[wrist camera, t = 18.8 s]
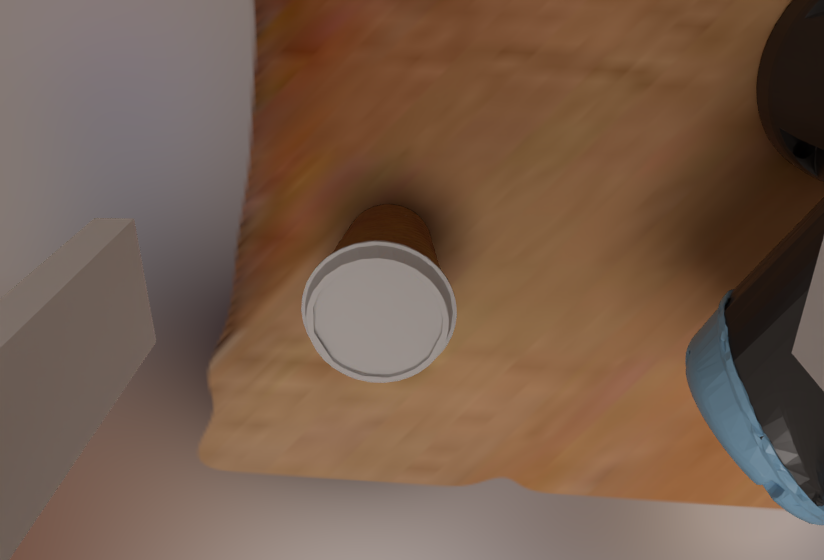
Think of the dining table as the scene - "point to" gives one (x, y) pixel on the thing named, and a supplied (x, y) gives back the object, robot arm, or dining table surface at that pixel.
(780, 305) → the robot arm
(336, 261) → the disposable coffee cup
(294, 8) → the dining table surface
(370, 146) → the dining table surface
